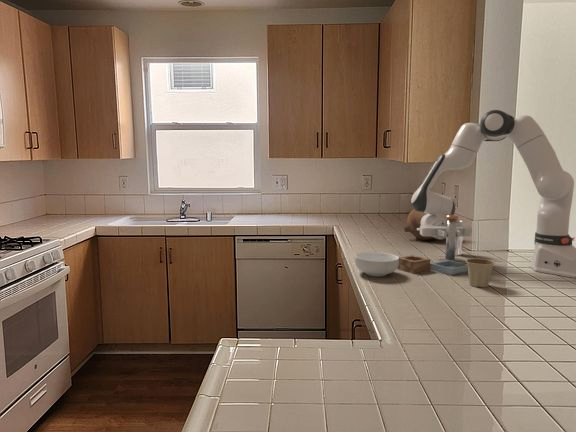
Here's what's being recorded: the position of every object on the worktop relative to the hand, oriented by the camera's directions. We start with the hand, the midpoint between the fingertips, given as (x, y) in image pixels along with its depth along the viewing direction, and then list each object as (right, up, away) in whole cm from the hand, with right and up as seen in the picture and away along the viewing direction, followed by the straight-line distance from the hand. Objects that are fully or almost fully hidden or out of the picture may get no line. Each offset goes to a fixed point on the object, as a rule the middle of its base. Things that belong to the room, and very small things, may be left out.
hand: (452, 234), depth 184 cm
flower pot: (+3, -17, -17) cm, 25 cm away
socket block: (-14, -14, +5) cm, 20 cm away
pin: (0, -10, +2) cm, 10 cm away
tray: (0, -14, +3) cm, 15 cm away
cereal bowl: (-30, -15, -2) cm, 34 cm away
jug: (+9, -5, +73) cm, 74 cm away
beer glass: (+12, -10, +32) cm, 36 cm away
